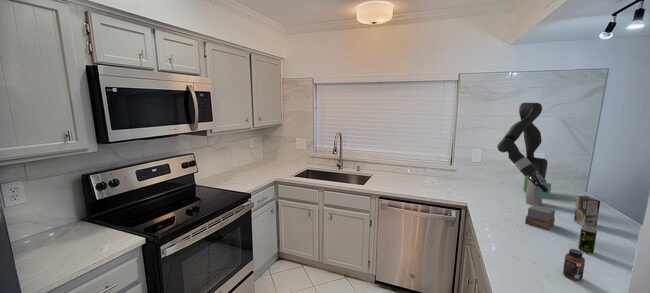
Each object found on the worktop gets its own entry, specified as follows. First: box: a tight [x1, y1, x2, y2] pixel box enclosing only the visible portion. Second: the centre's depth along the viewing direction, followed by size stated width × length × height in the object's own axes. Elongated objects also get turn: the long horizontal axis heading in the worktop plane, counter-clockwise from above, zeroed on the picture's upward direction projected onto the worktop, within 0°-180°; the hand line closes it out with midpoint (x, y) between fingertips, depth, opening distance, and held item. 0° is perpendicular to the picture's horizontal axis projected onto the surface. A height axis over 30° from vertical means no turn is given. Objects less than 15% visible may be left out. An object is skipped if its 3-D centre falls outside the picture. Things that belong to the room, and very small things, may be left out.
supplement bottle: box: [562, 248, 586, 281], centre depth 110 cm, size 6×6×11 cm
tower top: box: [526, 205, 556, 222], centre depth 159 cm, size 10×10×5 cm
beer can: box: [578, 225, 598, 254], centre depth 129 cm, size 5×5×12 cm
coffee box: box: [573, 195, 601, 229], centre depth 158 cm, size 9×6×16 cm
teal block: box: [536, 182, 552, 200], centre depth 156 cm, size 5×5×8 cm
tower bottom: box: [524, 215, 556, 231], centre depth 160 cm, size 11×11×5 cm
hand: (547, 190), depth 155 cm, fingers closed on teal block, 5 cm apart
